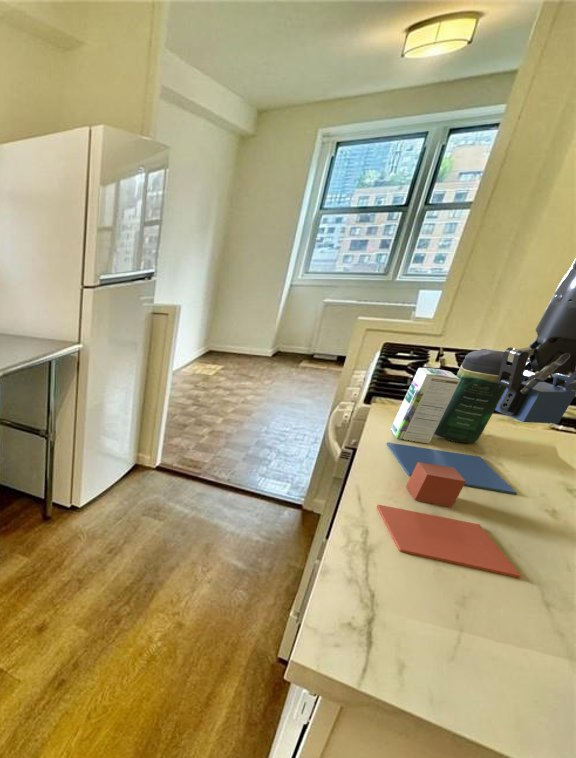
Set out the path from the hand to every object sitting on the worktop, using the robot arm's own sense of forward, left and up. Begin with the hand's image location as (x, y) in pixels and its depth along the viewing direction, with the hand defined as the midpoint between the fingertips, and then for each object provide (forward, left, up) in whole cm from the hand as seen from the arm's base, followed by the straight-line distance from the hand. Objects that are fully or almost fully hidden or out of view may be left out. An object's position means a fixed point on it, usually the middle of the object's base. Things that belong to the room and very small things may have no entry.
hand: (527, 414), depth 76 cm
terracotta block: (+8, +4, -15) cm, 18 cm away
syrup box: (+4, -25, -15) cm, 30 cm away
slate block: (0, 0, 0) cm, 0 cm away
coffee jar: (-5, -30, -15) cm, 34 cm away
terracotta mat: (+11, +18, -15) cm, 26 cm away
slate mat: (+2, -11, -15) cm, 19 cm away
